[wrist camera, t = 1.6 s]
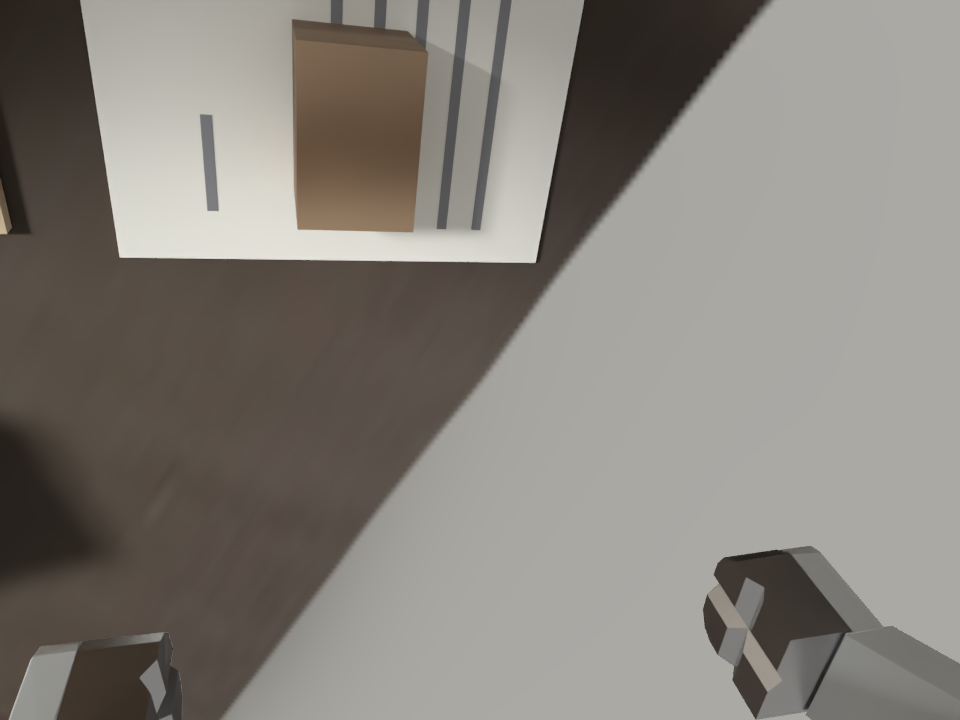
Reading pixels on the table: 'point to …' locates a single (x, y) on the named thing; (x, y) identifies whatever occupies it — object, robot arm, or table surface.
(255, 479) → the table surface
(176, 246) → the letter
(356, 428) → the table surface
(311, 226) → the walnut block
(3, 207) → the coaster
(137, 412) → the table surface
